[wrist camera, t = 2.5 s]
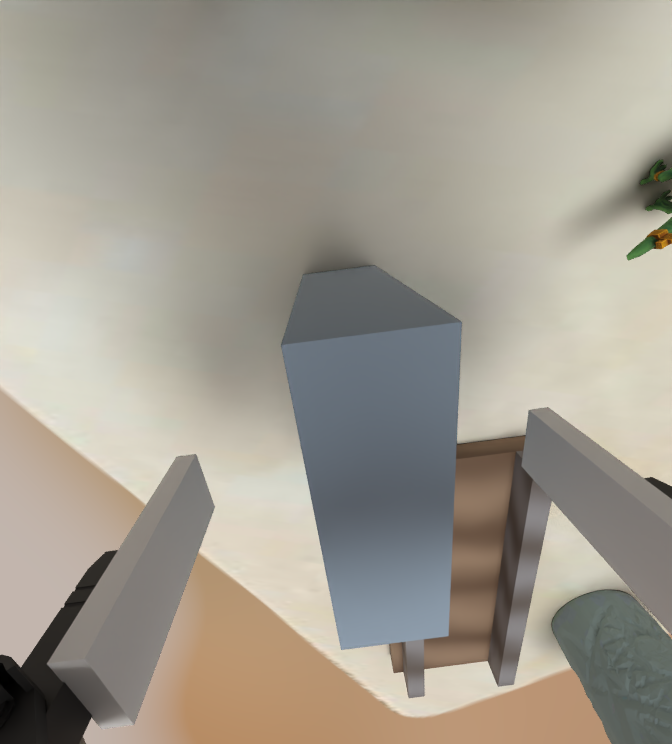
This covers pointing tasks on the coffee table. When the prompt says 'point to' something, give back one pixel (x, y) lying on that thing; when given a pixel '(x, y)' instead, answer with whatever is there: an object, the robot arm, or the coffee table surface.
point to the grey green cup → (620, 664)
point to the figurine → (668, 231)
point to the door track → (486, 565)
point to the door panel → (378, 448)
